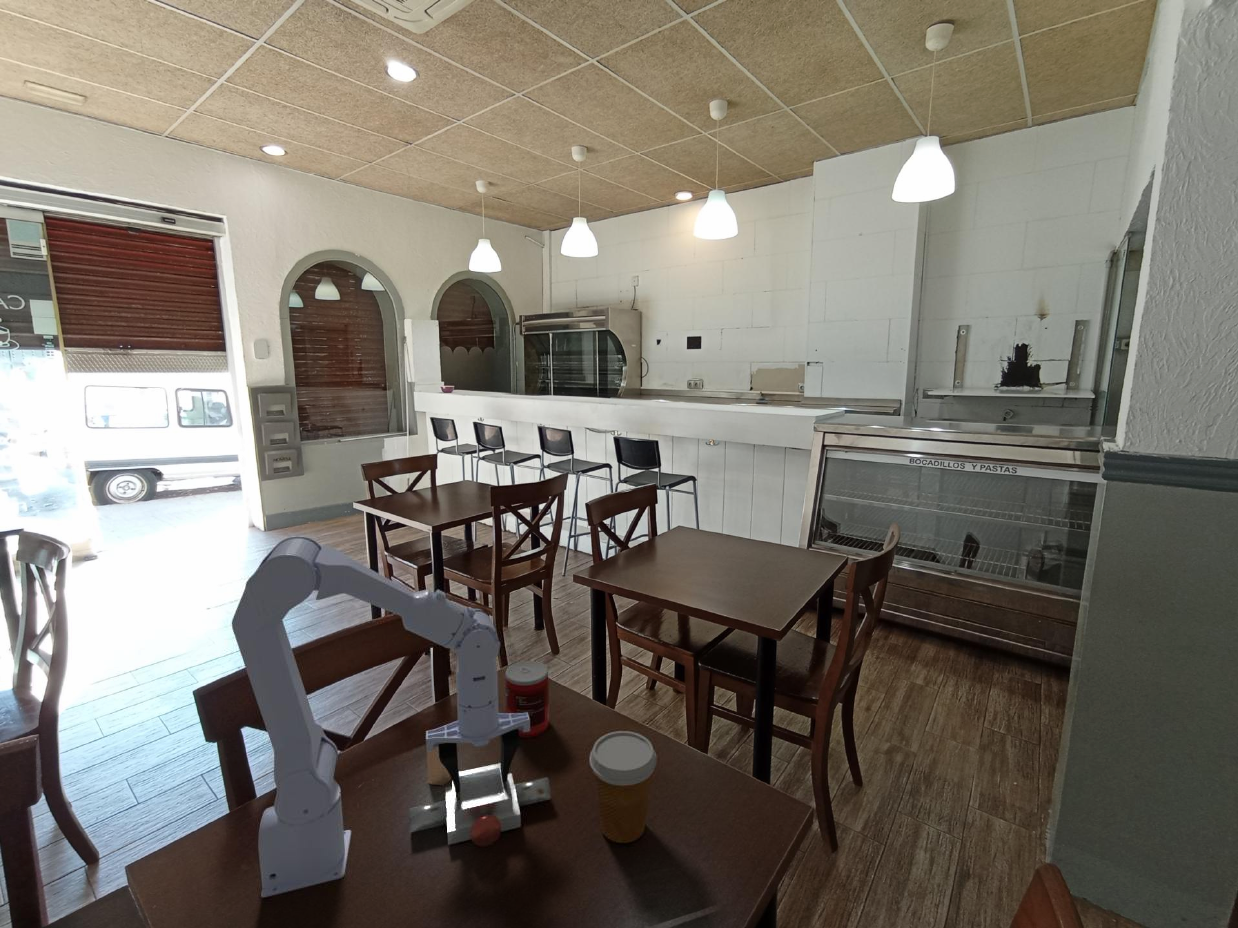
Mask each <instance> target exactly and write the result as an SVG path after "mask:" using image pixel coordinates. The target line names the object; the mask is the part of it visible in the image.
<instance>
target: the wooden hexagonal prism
mask: <svg viewBox="0 0 1238 928" xmlns="http://www.w3.org/2000/svg"><path fill="white" fill-rule="evenodd" d="M426 758H427V759H426V760H427V761H426V762H427V775H428V776H427V777H428V784H429V785H435V786H444V785H445V784H447V783H449V782H450V781H452V779H451V777H450V775H449V773H448V771H447V769H446V768H445V767H444V765H443V764H442V763H441V761H440V759H439V746H438V747H435V749H434V750H433V751H428V752H427V751H426Z"/></svg>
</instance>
